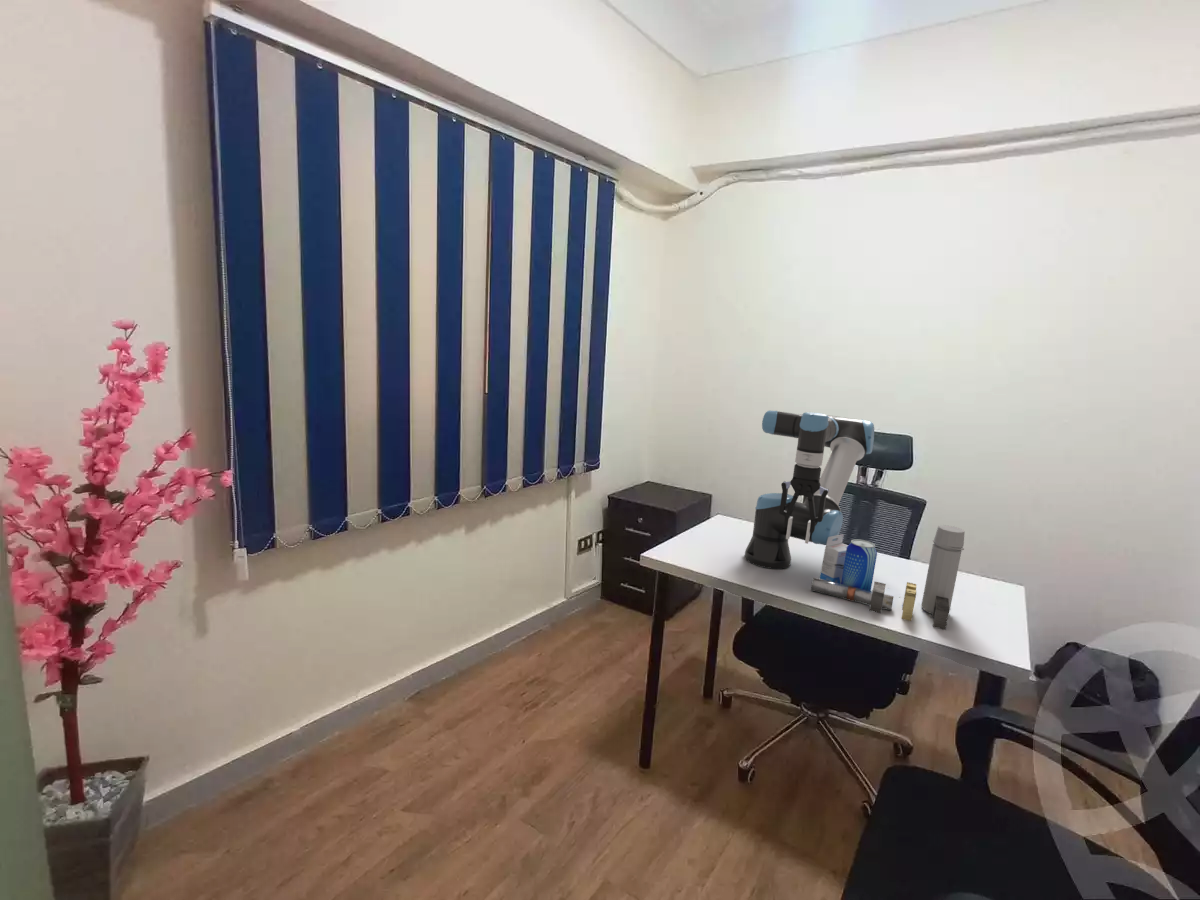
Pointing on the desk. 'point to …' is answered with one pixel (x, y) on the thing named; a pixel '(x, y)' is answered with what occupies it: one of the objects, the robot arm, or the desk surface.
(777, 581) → the desk surface
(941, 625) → the collar
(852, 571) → the beer can
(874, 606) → the collar
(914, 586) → the aperture bridge
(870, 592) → the tube
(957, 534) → the water bottle
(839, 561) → the ink box
